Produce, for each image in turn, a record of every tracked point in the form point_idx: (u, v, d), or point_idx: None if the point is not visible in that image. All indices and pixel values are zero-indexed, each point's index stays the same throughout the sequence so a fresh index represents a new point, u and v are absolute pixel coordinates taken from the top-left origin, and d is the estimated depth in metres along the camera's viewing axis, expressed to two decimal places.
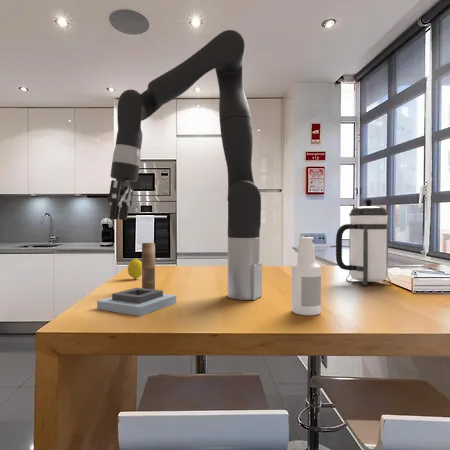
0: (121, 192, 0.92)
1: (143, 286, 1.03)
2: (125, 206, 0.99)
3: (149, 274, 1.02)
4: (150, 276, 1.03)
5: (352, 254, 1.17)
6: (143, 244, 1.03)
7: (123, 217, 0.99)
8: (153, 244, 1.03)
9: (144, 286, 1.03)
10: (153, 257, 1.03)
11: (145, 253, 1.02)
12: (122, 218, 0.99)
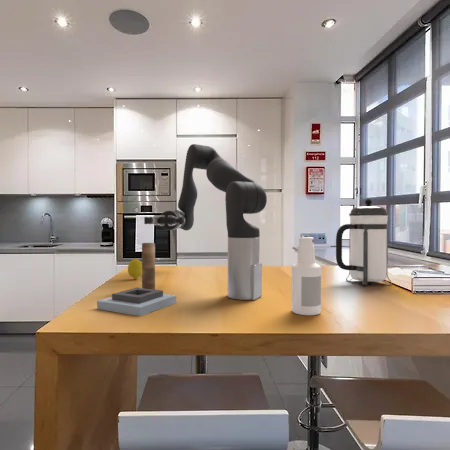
0: (157, 218, 1.23)
1: (143, 286, 1.03)
2: None
3: (149, 274, 1.02)
4: (150, 276, 1.03)
5: (352, 254, 1.17)
6: (143, 244, 1.03)
7: None
8: (153, 244, 1.03)
9: (144, 286, 1.03)
10: (153, 257, 1.03)
11: (145, 253, 1.02)
12: None
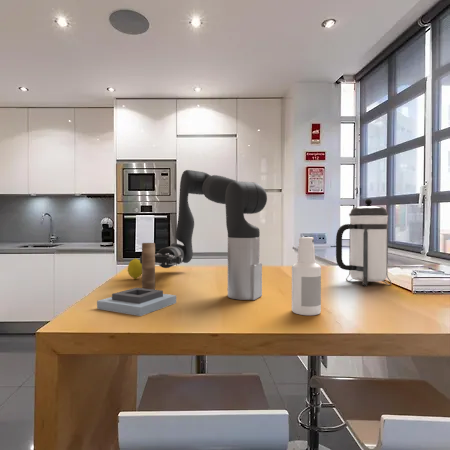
0: None
1: (143, 286, 1.03)
2: None
3: (149, 274, 1.02)
4: (150, 276, 1.03)
5: (352, 254, 1.17)
6: (143, 244, 1.03)
7: None
8: (153, 244, 1.03)
9: (144, 286, 1.03)
10: (153, 257, 1.03)
11: (145, 253, 1.02)
12: None
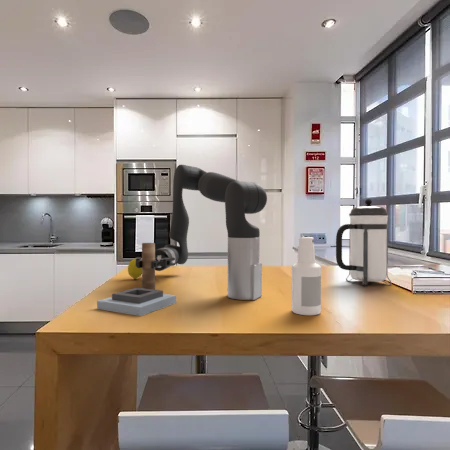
0: None
1: (143, 286, 1.03)
2: None
3: (149, 274, 1.02)
4: (150, 276, 1.03)
5: (352, 254, 1.17)
6: (143, 244, 1.03)
7: None
8: (153, 244, 1.03)
9: (144, 286, 1.03)
10: (153, 257, 1.03)
11: (145, 253, 1.02)
12: None
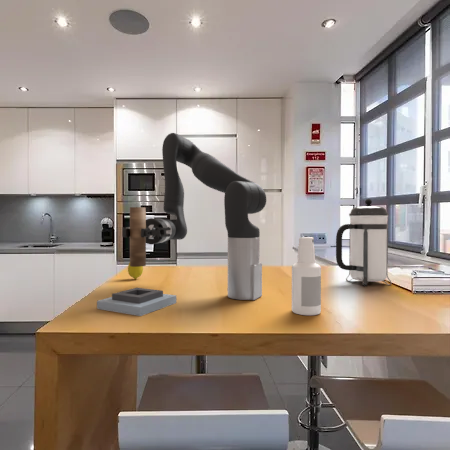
0: None
1: (131, 259, 0.84)
2: None
3: (138, 244, 0.84)
4: (140, 247, 0.84)
5: (352, 254, 1.17)
6: (131, 208, 0.84)
7: None
8: (143, 208, 0.85)
9: (132, 259, 0.84)
10: (143, 224, 0.85)
11: (134, 219, 0.83)
12: None
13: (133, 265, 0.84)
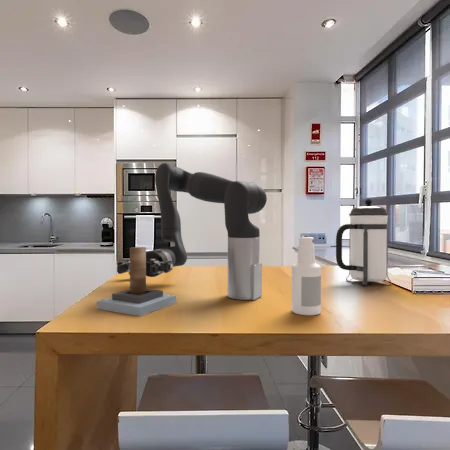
0: None
1: None
2: None
3: (138, 285, 0.84)
4: (140, 288, 0.84)
5: (352, 254, 1.17)
6: (131, 249, 0.84)
7: None
8: (143, 249, 0.85)
9: None
10: (143, 265, 0.85)
11: (134, 260, 0.84)
12: None
13: None
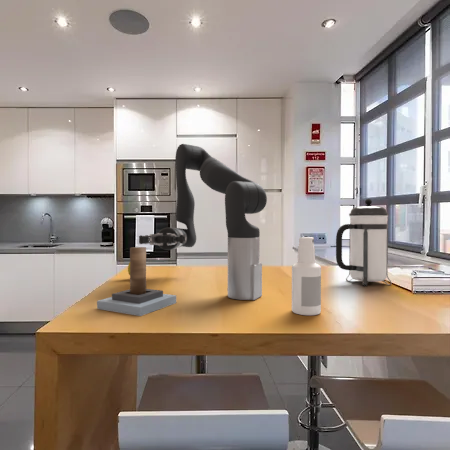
0: (154, 237, 1.06)
1: None
2: None
3: (138, 285, 0.84)
4: (140, 288, 0.84)
5: (352, 254, 1.17)
6: (131, 249, 0.84)
7: None
8: (144, 249, 0.85)
9: None
10: (144, 265, 0.85)
11: (134, 260, 0.84)
12: None
13: None
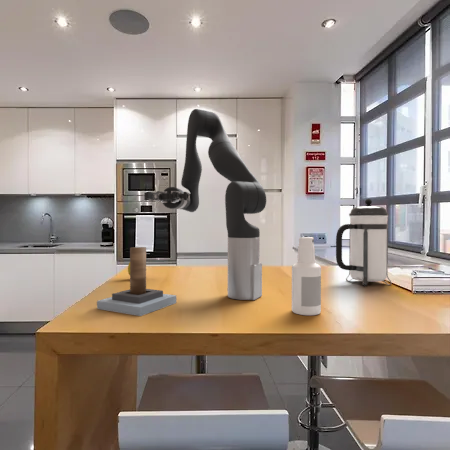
0: (159, 194, 1.10)
1: None
2: None
3: (138, 285, 0.84)
4: (140, 288, 0.84)
5: (352, 254, 1.17)
6: (131, 249, 0.84)
7: None
8: (144, 249, 0.85)
9: None
10: (144, 265, 0.85)
11: (134, 260, 0.84)
12: None
13: None
